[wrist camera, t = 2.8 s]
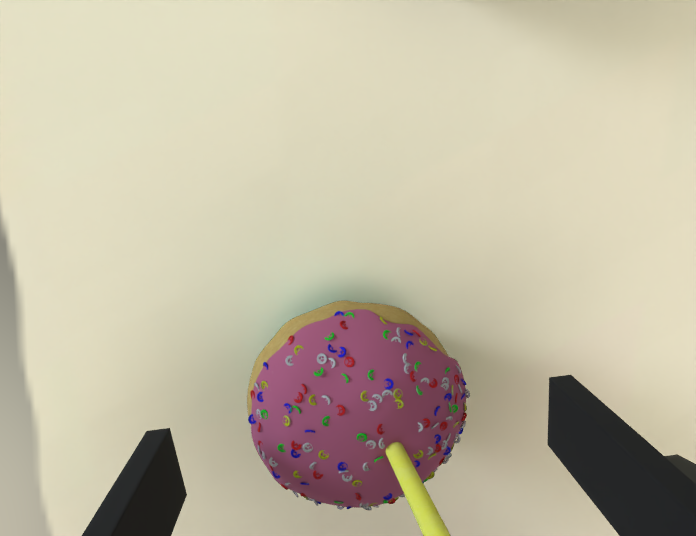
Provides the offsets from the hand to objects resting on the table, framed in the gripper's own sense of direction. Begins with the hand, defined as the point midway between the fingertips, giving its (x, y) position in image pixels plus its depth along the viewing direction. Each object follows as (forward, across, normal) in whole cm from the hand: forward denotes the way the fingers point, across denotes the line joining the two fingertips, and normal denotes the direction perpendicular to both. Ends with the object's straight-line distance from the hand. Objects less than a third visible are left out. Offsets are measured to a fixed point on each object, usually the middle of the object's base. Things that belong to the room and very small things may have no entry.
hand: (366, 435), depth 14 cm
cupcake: (+7, 0, 0) cm, 7 cm away
